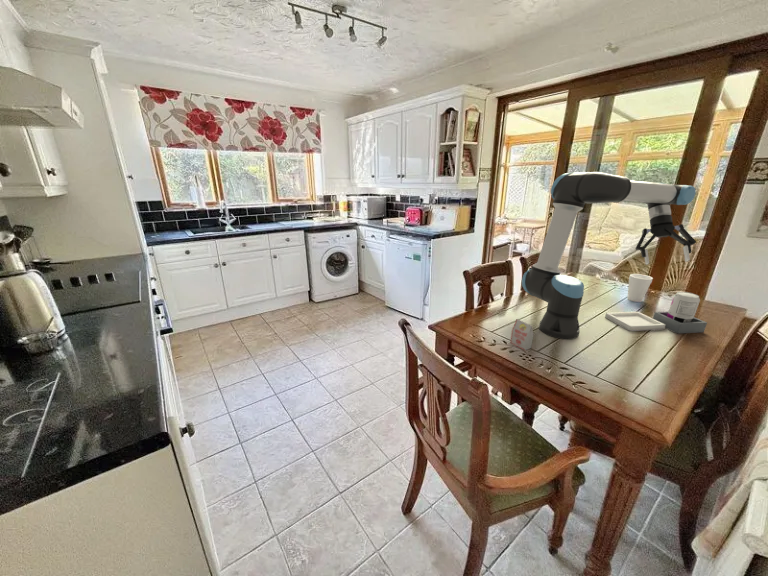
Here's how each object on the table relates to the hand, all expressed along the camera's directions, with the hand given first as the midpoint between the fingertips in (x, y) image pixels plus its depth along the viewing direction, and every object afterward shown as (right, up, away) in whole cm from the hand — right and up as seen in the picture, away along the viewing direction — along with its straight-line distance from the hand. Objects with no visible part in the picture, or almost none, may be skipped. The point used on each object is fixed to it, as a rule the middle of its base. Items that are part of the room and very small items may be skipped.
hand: (667, 262), depth 137 cm
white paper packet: (-71, -34, -15) cm, 80 cm away
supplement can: (+4, -28, 0) cm, 29 cm away
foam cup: (+9, -18, +29) cm, 36 cm away
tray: (-12, -27, +3) cm, 30 cm away
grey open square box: (+4, -28, 0) cm, 28 cm away
